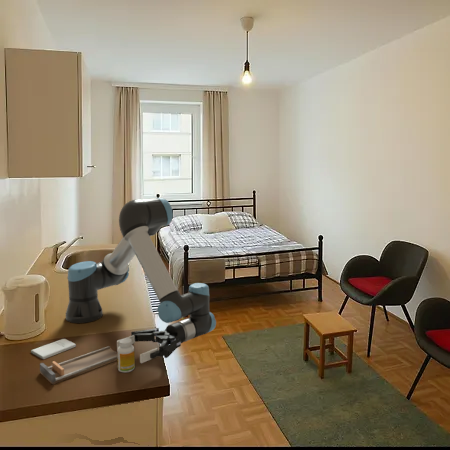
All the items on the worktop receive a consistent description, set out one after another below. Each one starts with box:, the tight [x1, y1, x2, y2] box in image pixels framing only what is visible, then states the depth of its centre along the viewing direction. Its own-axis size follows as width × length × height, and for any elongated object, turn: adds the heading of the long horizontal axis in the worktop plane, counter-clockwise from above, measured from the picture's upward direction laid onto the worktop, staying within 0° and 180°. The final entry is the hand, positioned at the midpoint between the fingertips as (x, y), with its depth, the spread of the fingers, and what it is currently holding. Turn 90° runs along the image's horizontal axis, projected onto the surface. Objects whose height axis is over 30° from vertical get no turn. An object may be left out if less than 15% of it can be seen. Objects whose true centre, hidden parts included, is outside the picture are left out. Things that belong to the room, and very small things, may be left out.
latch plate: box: [51, 360, 64, 376], centre depth 127 cm, size 7×1×2 cm, turn 45°
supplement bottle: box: [116, 337, 136, 373], centre depth 130 cm, size 5×5×10 cm
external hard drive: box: [30, 338, 77, 360], centre depth 144 cm, size 2×8×12 cm
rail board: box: [39, 345, 118, 385], centre depth 133 cm, size 10×24×3 cm, turn 135°
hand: (128, 351), depth 130 cm, fingers open, 13 cm apart
